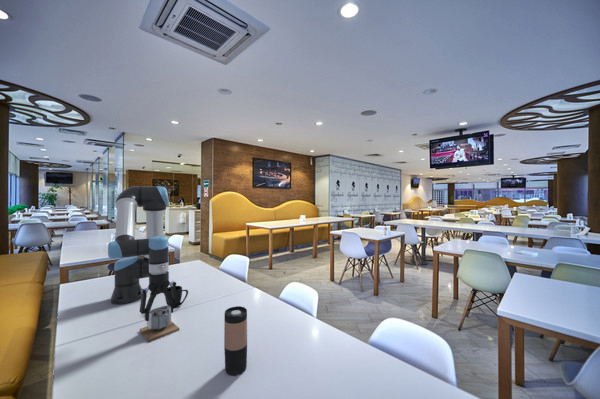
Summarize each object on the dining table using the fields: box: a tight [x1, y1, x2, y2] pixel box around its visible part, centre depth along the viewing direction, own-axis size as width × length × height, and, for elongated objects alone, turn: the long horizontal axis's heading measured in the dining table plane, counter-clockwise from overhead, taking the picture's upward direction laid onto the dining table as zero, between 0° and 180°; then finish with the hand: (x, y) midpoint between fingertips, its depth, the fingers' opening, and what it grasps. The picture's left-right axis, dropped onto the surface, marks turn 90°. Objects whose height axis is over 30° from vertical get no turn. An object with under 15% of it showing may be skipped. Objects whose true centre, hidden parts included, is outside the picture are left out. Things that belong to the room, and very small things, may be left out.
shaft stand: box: [139, 308, 180, 343], centre depth 109 cm, size 12×12×9 cm
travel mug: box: [223, 305, 248, 377], centre depth 86 cm, size 8×8×20 cm
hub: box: [151, 308, 170, 329], centre depth 109 cm, size 7×7×5 cm
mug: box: [164, 285, 189, 309], centre depth 133 cm, size 8×12×10 cm
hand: (159, 323), depth 109 cm, fingers closed on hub, 7 cm apart
